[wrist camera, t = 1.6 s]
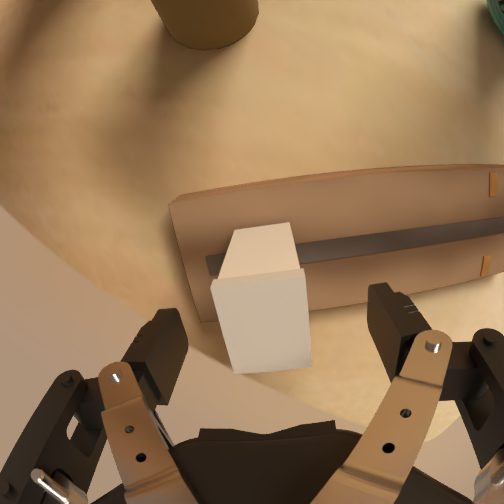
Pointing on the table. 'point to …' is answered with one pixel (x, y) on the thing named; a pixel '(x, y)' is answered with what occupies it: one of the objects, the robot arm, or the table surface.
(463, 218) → the console track
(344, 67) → the table surface
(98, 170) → the table surface
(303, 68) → the table surface
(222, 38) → the cork
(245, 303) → the fader tab
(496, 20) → the beverage bottle
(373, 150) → the table surface
